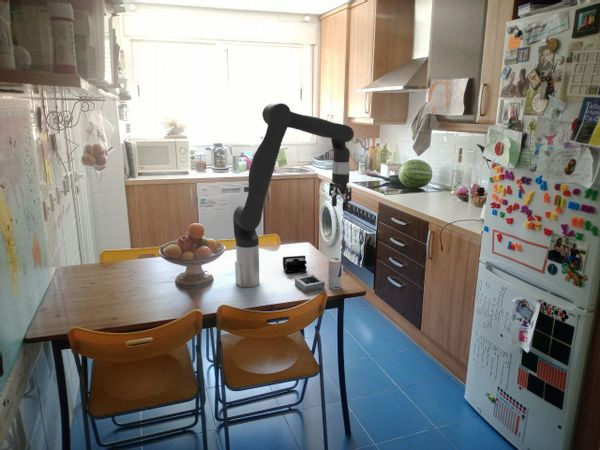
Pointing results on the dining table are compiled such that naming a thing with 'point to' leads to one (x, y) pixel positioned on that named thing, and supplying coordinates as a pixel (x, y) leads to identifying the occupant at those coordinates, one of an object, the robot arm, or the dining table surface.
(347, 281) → the dining table surface
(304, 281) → the metal collar
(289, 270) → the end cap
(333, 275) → the energy drink
